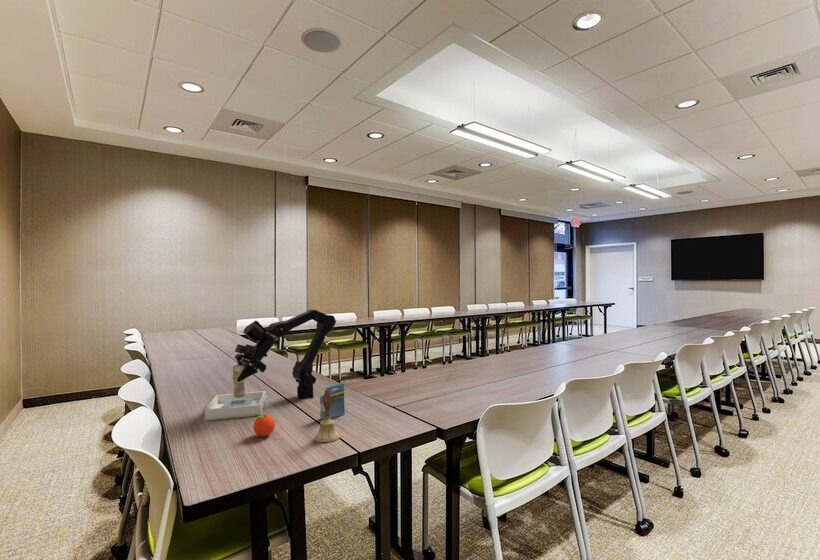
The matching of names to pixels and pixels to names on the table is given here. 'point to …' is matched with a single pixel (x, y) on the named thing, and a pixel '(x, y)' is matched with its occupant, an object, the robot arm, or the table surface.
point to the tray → (236, 406)
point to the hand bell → (327, 423)
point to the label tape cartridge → (334, 402)
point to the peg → (238, 386)
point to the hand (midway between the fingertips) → (235, 380)
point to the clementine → (264, 425)
